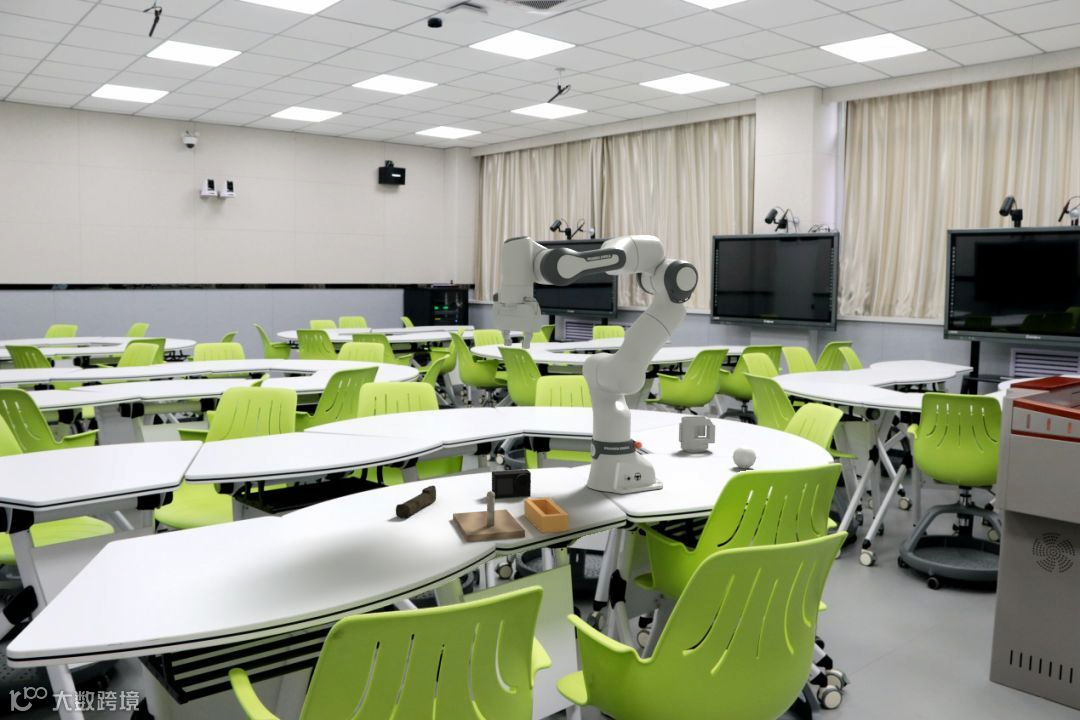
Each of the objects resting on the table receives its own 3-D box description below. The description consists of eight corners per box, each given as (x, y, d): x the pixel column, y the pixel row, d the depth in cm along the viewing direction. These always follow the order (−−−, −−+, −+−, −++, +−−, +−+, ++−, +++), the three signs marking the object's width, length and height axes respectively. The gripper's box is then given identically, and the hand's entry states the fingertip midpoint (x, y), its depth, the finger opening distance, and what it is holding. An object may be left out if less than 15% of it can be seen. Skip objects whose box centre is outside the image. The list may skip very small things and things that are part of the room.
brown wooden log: (408, 520, 208) (408, 502, 208) (395, 518, 210) (394, 500, 209) (444, 501, 226) (444, 485, 225) (431, 499, 227) (431, 483, 227)
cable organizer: (715, 452, 289) (716, 418, 288) (681, 453, 287) (682, 419, 286) (708, 448, 296) (710, 415, 294) (675, 449, 294) (676, 416, 293)
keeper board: (506, 515, 212) (506, 477, 211) (525, 536, 195) (525, 495, 194) (452, 519, 208) (452, 480, 207) (467, 541, 191) (467, 499, 190)
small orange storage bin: (548, 512, 215) (548, 497, 215) (568, 530, 200) (568, 514, 200) (524, 514, 213) (524, 499, 213) (542, 533, 198) (542, 516, 198)
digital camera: (495, 500, 226) (495, 475, 226) (491, 495, 232) (491, 470, 231) (531, 497, 229) (532, 473, 228) (526, 492, 234) (527, 468, 234)
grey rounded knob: (756, 471, 262) (757, 448, 261) (732, 470, 263) (733, 447, 262) (754, 464, 271) (755, 442, 271) (731, 463, 273) (732, 441, 272)
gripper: (547, 297, 215) (547, 349, 217) (508, 295, 233) (507, 343, 234) (527, 297, 212) (527, 351, 214) (488, 295, 229) (488, 344, 231)
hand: (516, 347), depth 224 cm, fingers open, 8 cm apart
